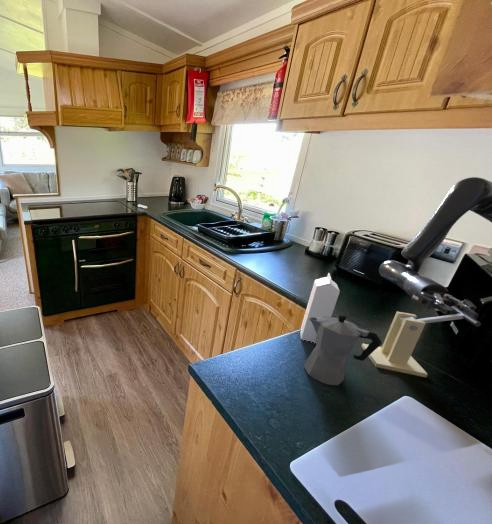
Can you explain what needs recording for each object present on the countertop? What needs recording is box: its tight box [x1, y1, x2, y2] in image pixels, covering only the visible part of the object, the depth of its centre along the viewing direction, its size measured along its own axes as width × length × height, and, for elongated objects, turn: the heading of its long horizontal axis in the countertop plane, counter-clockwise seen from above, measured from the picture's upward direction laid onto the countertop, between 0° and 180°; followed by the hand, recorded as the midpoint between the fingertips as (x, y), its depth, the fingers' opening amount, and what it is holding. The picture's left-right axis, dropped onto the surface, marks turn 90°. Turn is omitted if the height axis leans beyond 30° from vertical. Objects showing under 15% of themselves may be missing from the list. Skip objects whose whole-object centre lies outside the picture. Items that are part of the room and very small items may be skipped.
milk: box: [299, 272, 341, 344], centre depth 90 cm, size 6×6×22 cm
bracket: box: [361, 311, 429, 378], centre depth 82 cm, size 12×10×15 cm
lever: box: [400, 306, 482, 327], centre depth 78 cm, size 14×9×2 cm, turn 74°
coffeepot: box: [303, 313, 382, 386], centre depth 74 cm, size 15×9×18 cm, turn 58°
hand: (463, 315), depth 76 cm, fingers open, 4 cm apart
